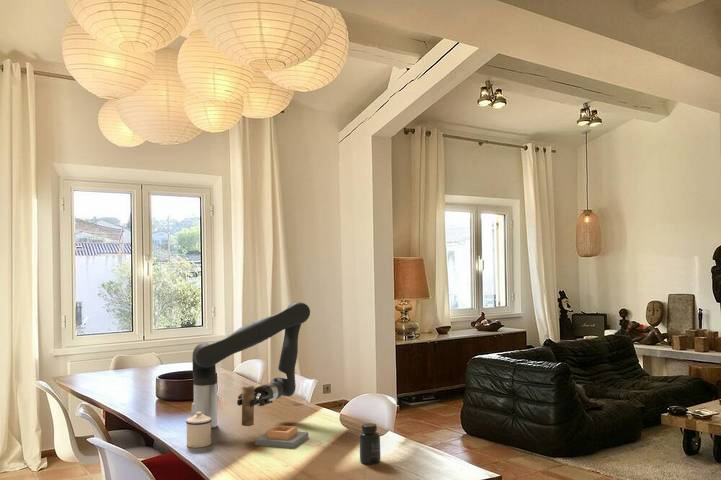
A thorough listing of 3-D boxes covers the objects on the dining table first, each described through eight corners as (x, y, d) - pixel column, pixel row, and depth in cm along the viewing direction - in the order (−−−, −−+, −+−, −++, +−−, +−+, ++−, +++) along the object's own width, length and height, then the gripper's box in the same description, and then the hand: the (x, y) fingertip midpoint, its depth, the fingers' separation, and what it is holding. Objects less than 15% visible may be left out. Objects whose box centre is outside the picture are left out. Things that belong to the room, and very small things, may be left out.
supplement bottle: (379, 458, 206) (379, 421, 206) (381, 464, 199) (380, 427, 199) (359, 458, 205) (358, 422, 206) (360, 465, 199) (359, 427, 199)
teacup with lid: (216, 444, 224) (216, 411, 225) (194, 449, 218) (194, 416, 218) (198, 438, 233) (198, 406, 233) (177, 443, 226) (177, 411, 227)
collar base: (255, 445, 223) (254, 432, 223) (272, 434, 236) (271, 422, 236) (293, 448, 218) (293, 435, 218) (308, 437, 231) (308, 425, 232)
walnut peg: (239, 425, 229) (240, 387, 229) (245, 422, 233) (245, 385, 233) (250, 426, 227) (250, 388, 228) (255, 423, 231) (256, 386, 232)
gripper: (249, 383, 246) (227, 391, 230) (281, 385, 242) (262, 394, 226) (248, 402, 246) (227, 412, 230) (281, 405, 242) (261, 415, 225)
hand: (244, 403), depth 228 cm, fingers closed on walnut peg, 4 cm apart
